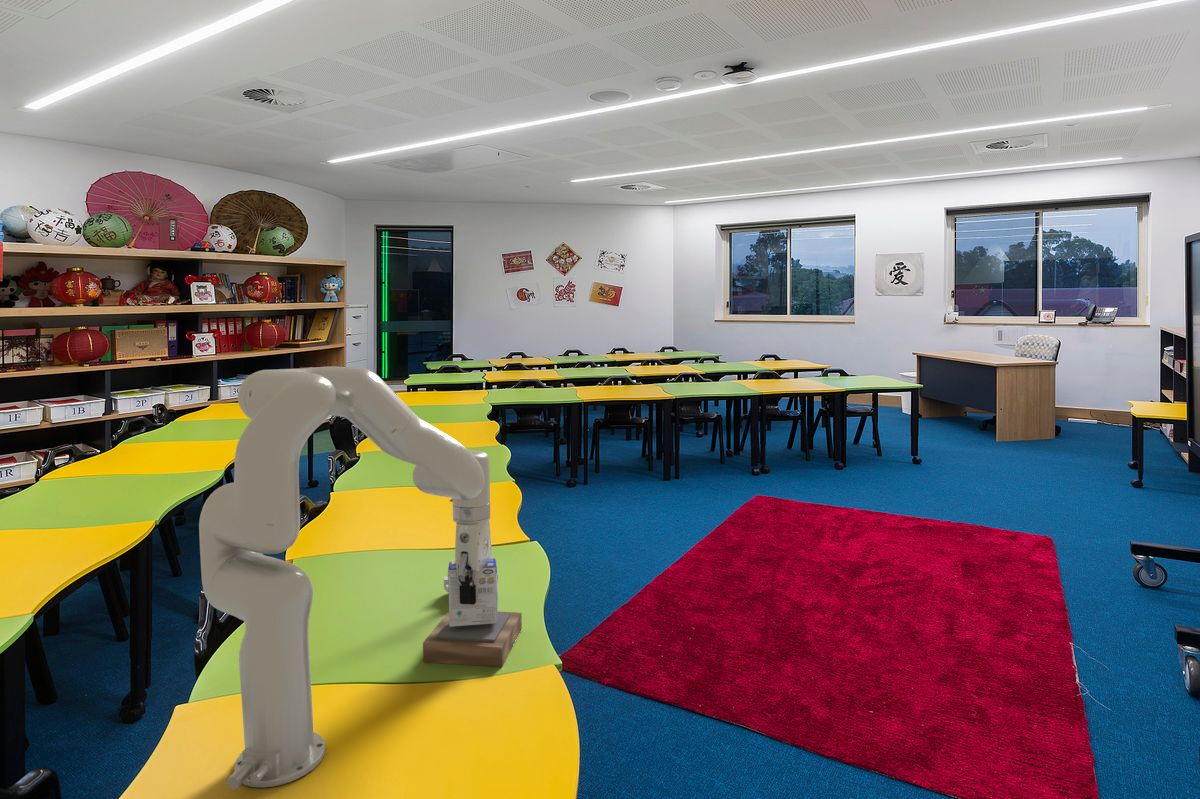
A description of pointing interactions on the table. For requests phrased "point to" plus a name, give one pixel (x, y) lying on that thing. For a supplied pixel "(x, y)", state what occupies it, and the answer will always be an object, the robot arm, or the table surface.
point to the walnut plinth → (473, 641)
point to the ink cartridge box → (485, 597)
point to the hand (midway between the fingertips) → (473, 595)
